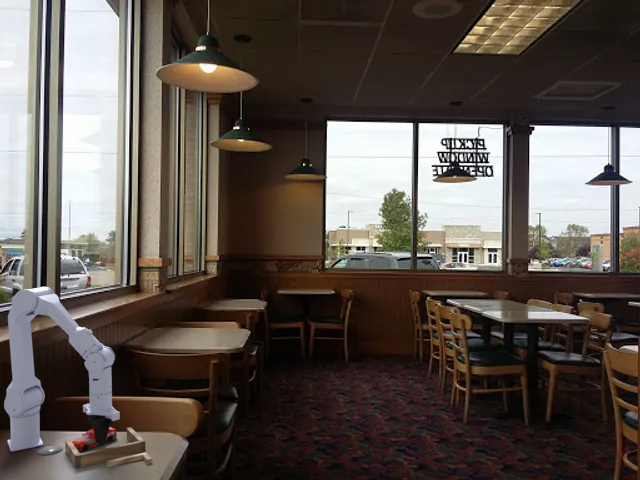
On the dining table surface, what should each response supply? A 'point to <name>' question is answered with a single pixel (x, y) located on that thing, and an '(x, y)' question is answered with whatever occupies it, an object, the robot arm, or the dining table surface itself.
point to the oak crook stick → (130, 459)
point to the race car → (92, 439)
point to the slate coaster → (50, 450)
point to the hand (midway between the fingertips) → (101, 441)
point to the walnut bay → (106, 451)
